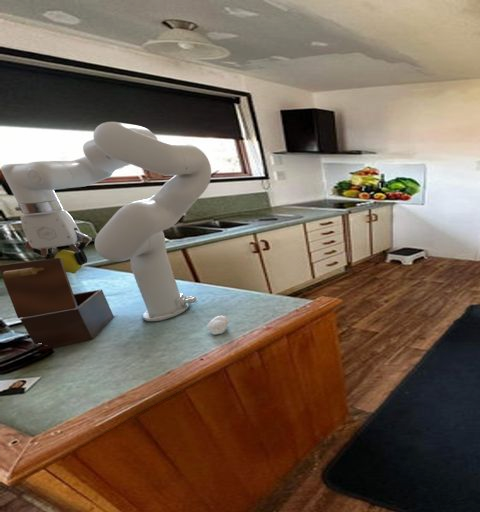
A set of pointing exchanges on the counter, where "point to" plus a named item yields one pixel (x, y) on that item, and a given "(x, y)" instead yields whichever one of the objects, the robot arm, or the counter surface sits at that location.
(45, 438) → the counter surface
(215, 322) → the dumpling
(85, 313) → the box
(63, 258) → the lemon
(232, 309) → the counter surface
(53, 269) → the lid
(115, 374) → the counter surface
